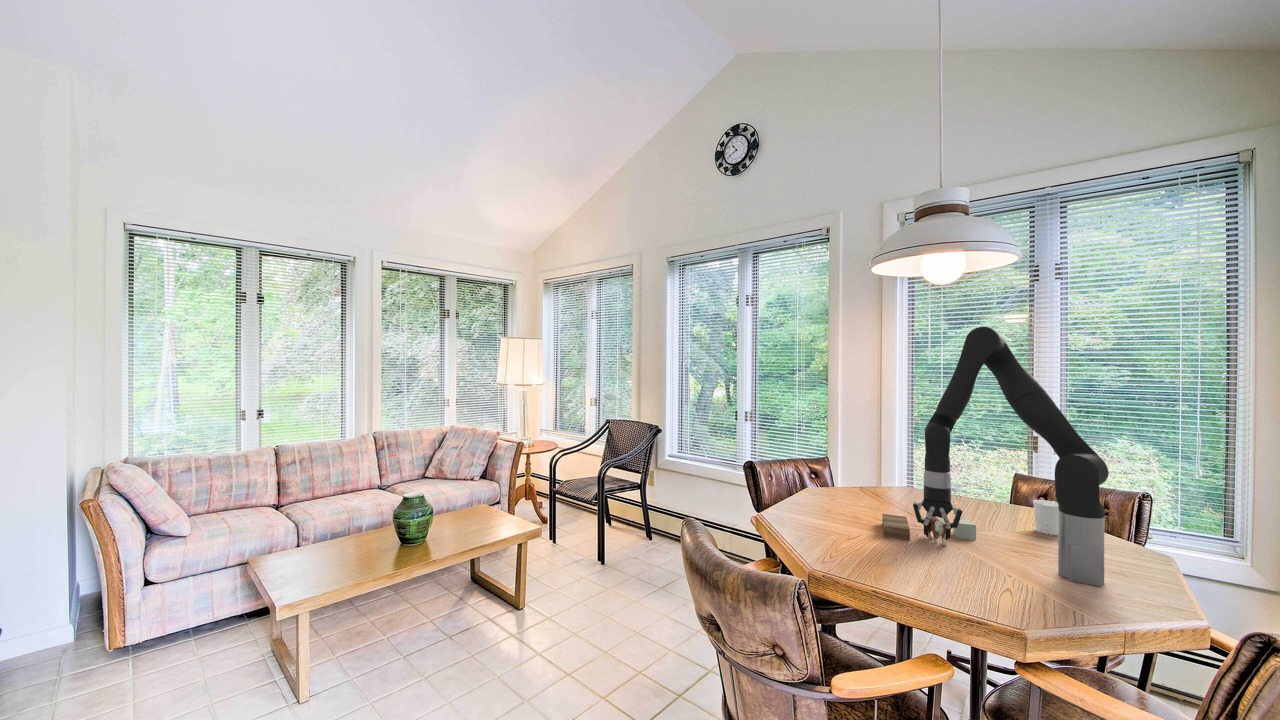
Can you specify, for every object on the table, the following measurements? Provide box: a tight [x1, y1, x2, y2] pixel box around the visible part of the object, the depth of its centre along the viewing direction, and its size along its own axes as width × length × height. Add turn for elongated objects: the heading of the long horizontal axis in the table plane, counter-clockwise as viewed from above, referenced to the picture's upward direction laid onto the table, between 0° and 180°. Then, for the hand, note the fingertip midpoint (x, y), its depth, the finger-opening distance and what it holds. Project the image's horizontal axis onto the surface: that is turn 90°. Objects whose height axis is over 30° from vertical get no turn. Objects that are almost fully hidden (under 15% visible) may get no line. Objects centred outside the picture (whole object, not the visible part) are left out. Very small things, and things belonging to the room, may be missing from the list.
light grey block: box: [1033, 499, 1059, 536], centre depth 170 cm, size 8×8×10 cm
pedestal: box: [881, 513, 911, 542], centre depth 168 cm, size 15×8×4 cm, turn 156°
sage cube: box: [952, 518, 977, 541], centre depth 164 cm, size 5×5×5 cm
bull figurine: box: [927, 516, 948, 547], centre depth 159 cm, size 4×13×8 cm, turn 160°
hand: (937, 537), depth 159 cm, fingers closed on bull figurine, 4 cm apart
